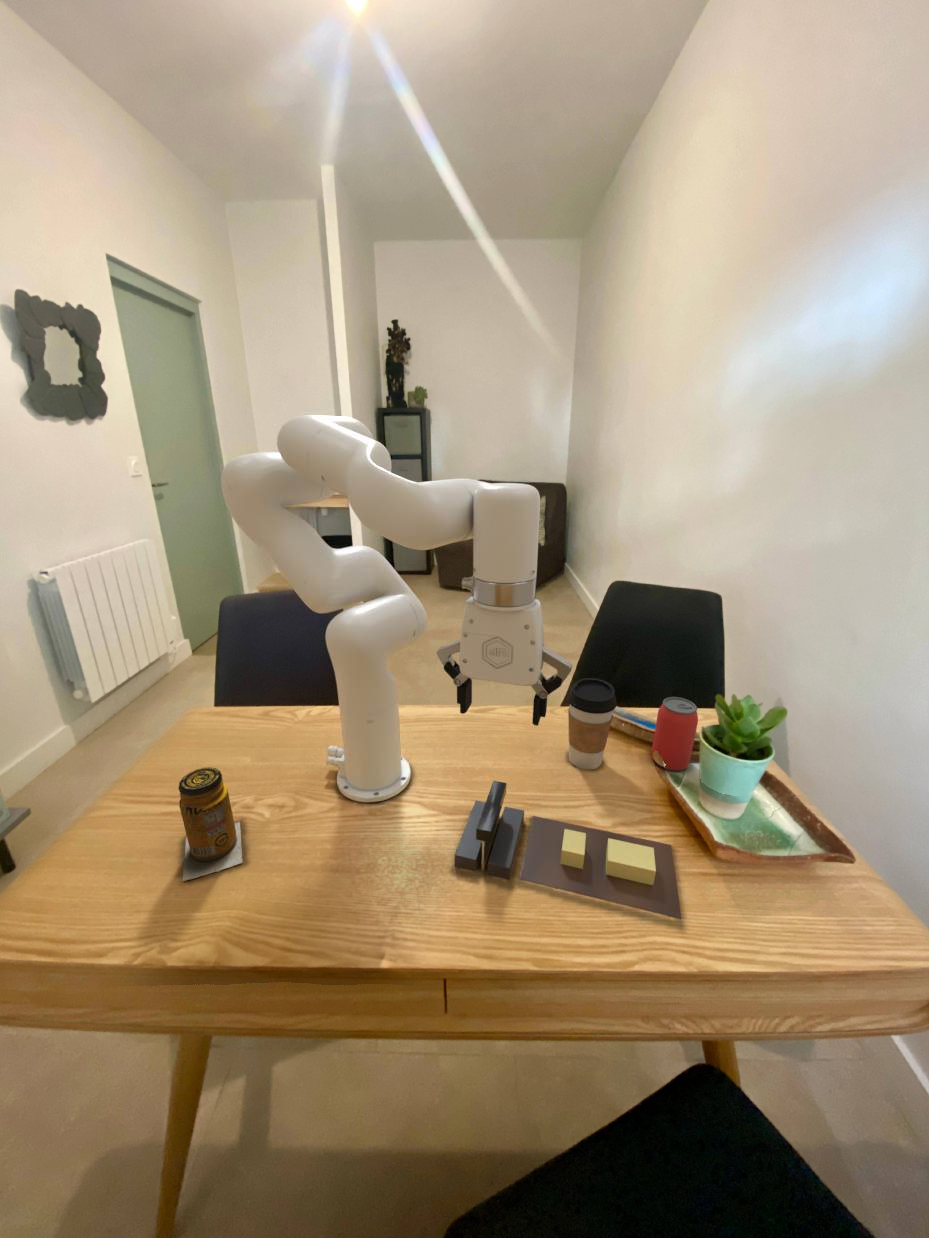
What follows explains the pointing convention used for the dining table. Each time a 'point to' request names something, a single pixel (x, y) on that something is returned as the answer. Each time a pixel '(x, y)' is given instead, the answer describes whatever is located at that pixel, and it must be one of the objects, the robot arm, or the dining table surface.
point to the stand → (502, 846)
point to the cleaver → (490, 818)
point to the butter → (630, 861)
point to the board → (598, 868)
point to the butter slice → (573, 848)
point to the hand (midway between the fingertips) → (500, 714)
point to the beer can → (675, 732)
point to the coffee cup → (589, 721)
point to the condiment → (208, 824)
